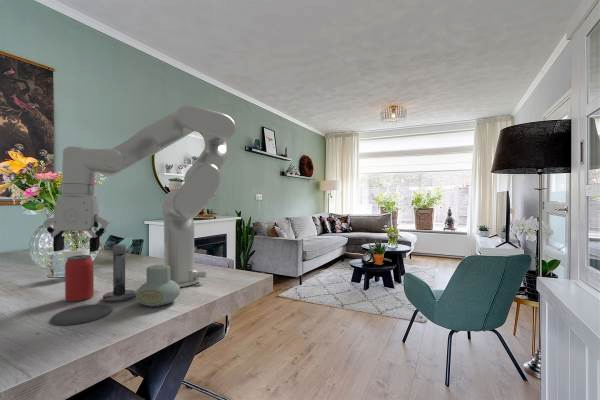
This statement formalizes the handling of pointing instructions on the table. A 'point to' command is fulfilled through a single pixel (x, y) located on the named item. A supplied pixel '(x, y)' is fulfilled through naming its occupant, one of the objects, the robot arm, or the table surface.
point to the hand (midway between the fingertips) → (76, 250)
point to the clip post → (118, 282)
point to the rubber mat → (81, 314)
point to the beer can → (79, 278)
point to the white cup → (74, 254)
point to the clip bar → (122, 246)
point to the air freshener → (158, 287)
